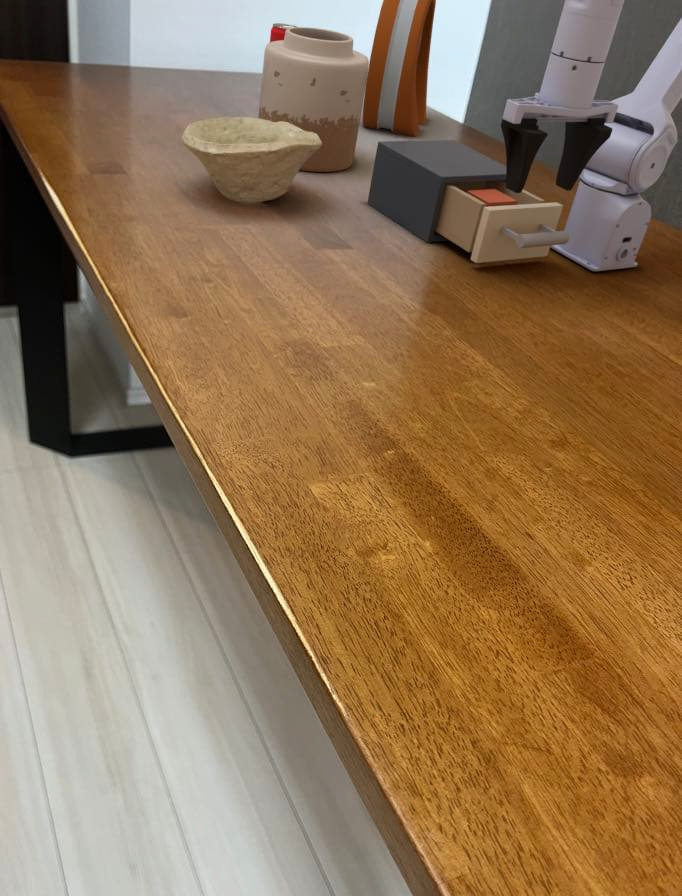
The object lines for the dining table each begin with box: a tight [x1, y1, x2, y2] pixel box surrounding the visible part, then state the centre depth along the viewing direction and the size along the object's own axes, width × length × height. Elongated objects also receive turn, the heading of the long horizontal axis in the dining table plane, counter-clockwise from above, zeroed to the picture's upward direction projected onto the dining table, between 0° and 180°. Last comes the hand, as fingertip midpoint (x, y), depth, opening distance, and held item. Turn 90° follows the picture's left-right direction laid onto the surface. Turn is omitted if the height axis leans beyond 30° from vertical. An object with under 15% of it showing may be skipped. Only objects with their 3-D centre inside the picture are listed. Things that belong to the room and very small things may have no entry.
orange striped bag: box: [362, 0, 437, 137], centre depth 149 cm, size 22×10×23 cm, turn 165°
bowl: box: [181, 116, 322, 205], centre depth 112 cm, size 14×18×15 cm
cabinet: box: [367, 139, 506, 244], centre depth 114 cm, size 15×13×8 cm
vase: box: [257, 26, 370, 173], centre depth 127 cm, size 15×15×17 cm
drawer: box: [435, 180, 569, 264], centre depth 106 cm, size 18×11×6 cm, turn 27°
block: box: [467, 189, 517, 207], centre depth 107 cm, size 4×4×4 cm
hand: (538, 189), depth 99 cm, fingers open, 7 cm apart
